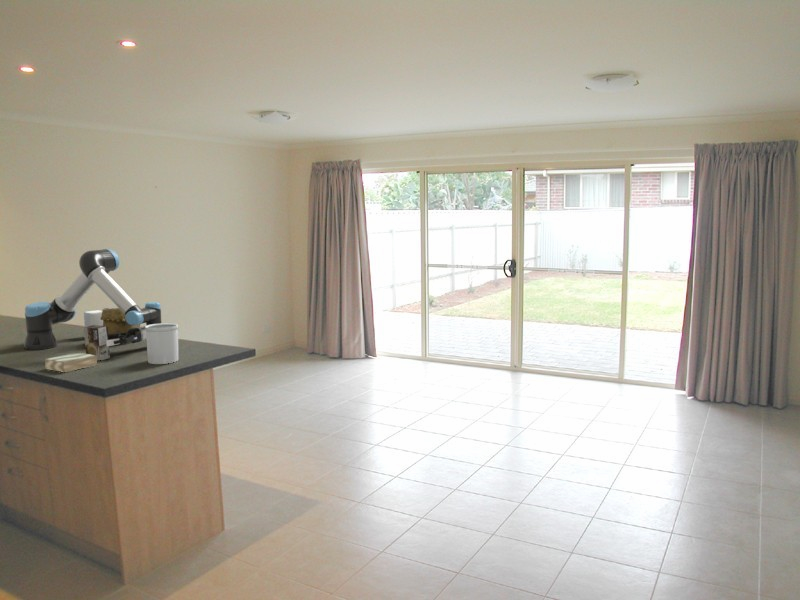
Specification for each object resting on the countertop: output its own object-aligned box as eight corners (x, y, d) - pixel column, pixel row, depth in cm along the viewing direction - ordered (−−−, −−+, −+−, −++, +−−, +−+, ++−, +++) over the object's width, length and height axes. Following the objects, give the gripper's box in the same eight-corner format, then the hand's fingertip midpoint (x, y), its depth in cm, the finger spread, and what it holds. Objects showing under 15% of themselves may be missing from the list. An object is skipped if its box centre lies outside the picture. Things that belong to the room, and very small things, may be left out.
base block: (45, 369, 278) (44, 358, 277) (78, 362, 292) (77, 351, 291) (64, 373, 271) (63, 362, 270) (97, 365, 285) (96, 355, 284)
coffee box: (110, 358, 300) (108, 325, 298) (100, 360, 294) (98, 328, 292) (96, 356, 303) (93, 324, 301) (85, 359, 297) (83, 326, 295)
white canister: (107, 337, 350) (106, 311, 348) (91, 339, 343) (89, 313, 341) (101, 334, 356) (99, 309, 354) (85, 337, 349) (83, 311, 347)
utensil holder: (154, 357, 301) (153, 322, 299) (184, 357, 301) (182, 322, 298) (141, 364, 287) (139, 328, 284) (172, 365, 286) (170, 328, 284)
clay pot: (99, 340, 341) (96, 305, 338) (139, 336, 353) (137, 302, 350) (104, 347, 324) (102, 310, 321) (147, 342, 335) (144, 306, 332)
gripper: (153, 344, 309) (114, 352, 291) (124, 339, 322) (84, 346, 305) (152, 330, 308) (113, 337, 290) (123, 325, 321) (83, 331, 304)
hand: (98, 341), depth 297 cm, fingers open, 13 cm apart
